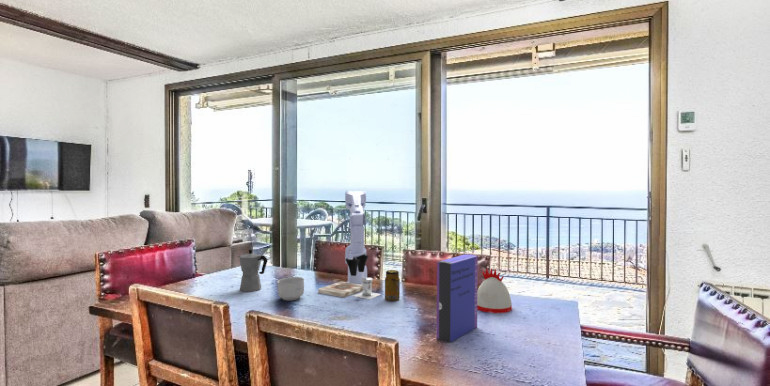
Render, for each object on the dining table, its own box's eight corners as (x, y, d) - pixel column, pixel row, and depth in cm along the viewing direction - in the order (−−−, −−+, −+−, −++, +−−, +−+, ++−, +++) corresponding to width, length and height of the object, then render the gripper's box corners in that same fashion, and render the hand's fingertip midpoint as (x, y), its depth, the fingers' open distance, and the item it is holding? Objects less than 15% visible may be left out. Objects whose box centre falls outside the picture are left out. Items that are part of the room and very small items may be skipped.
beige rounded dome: (481, 300, 169) (481, 264, 168) (515, 305, 162) (515, 267, 161) (469, 309, 157) (469, 270, 156) (506, 315, 150) (506, 274, 149)
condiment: (393, 297, 173) (393, 268, 173) (406, 301, 167) (407, 272, 167) (379, 300, 169) (379, 271, 169) (393, 304, 162) (393, 274, 162)
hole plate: (341, 285, 192) (341, 281, 192) (366, 289, 185) (366, 285, 185) (318, 293, 179) (318, 288, 179) (344, 298, 171) (344, 293, 171)
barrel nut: (365, 292, 178) (365, 276, 178) (374, 294, 176) (374, 278, 175) (359, 295, 174) (359, 279, 174) (368, 297, 171) (368, 280, 171)
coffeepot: (231, 290, 183) (231, 250, 183) (245, 285, 192) (245, 247, 191) (260, 293, 178) (260, 252, 177) (273, 288, 187) (273, 248, 186)
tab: (364, 292, 181) (364, 291, 181) (381, 295, 176) (381, 294, 176) (352, 296, 173) (352, 295, 173) (369, 300, 169) (369, 299, 169)
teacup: (300, 302, 165) (300, 282, 165) (273, 302, 165) (273, 282, 165) (308, 293, 179) (308, 275, 179) (283, 293, 179) (283, 274, 179)
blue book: (464, 324, 140) (464, 253, 140) (477, 327, 137) (477, 255, 136) (436, 339, 127) (437, 261, 126) (450, 343, 124) (450, 263, 123)
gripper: (356, 238, 182) (356, 269, 182) (341, 243, 169) (341, 276, 169) (370, 239, 180) (370, 270, 180) (356, 244, 166) (356, 277, 166)
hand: (357, 273), depth 174 cm, fingers open, 7 cm apart
